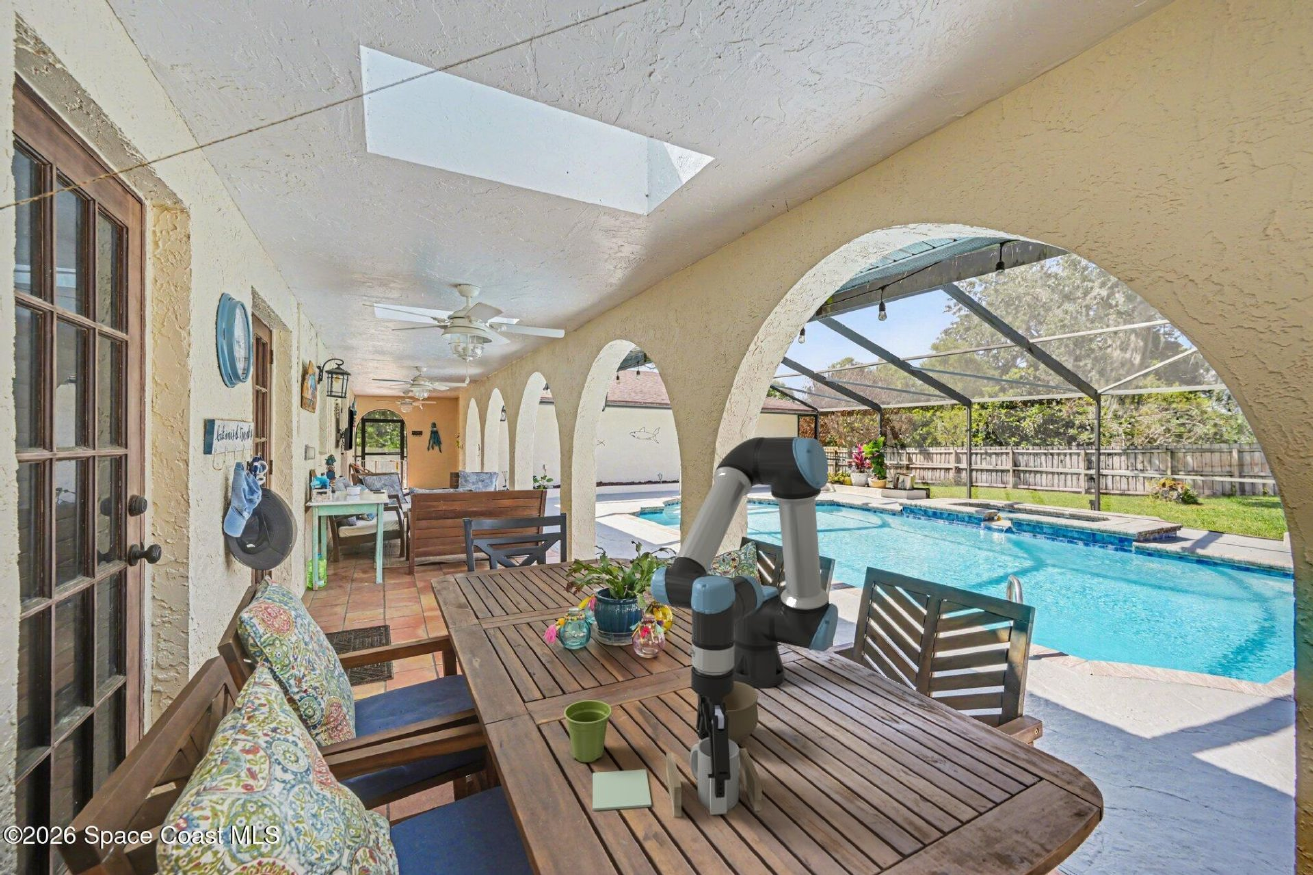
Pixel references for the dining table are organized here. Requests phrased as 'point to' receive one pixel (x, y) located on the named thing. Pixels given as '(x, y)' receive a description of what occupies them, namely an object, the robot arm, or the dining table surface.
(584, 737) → the plant pot
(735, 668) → the robot arm
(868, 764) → the dining table surface
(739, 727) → the bowl
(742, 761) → the holder rails
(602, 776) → the mat
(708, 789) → the cup
